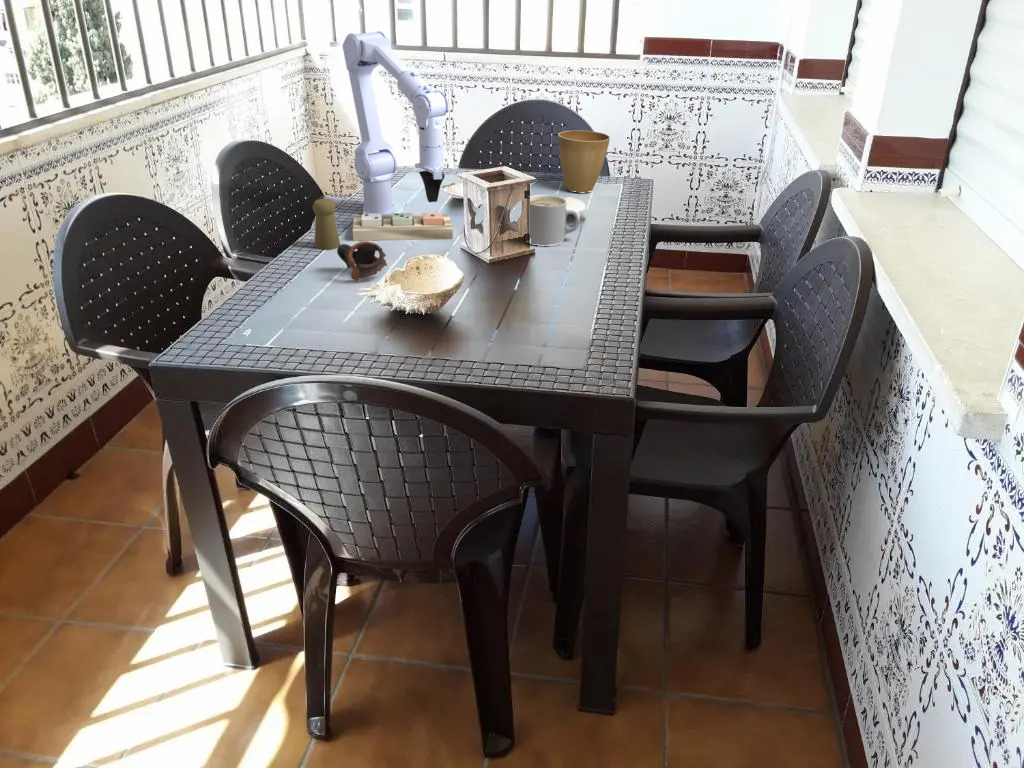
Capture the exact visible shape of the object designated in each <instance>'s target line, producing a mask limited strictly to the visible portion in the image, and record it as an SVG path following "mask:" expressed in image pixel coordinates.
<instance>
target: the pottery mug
mask: <svg viewBox="0 0 1024 768" xmlns="http://www.w3.org/2000/svg"><path fill="white" fill-rule="evenodd" d="M336 249H337V250H336V252H337V255H338V257H339V258H340V259H341V261H343V263H345V265H346V268H347V269H351V274H350V277H351V279H352V280H354V281H356V282H358V281H359V280H360V279H363V278H367V277H371V276H373V275H377V274H378V272H381V271H382V270H383V268H384V267H387V266H388V263H387V261H386V259H385V257H386V256H387V254H386V253H385V252H384V251H383V248H382V247H380V245H378V244H377V243H374V242H371V241H359V242H358V241H357V242H356V243H354V244H353V245H350V244H346V243H342V244H341V243H340V246H339V247H338V248H336ZM376 252H378V255H379V256H378V257H377V256H375V254H376Z"/></svg>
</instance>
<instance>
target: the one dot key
mask: <svg viewBox="0 0 1024 768" xmlns="http://www.w3.org/2000/svg"><path fill="white" fill-rule="evenodd" d="M422 214H423V225H443V217H442V214H443V212H422Z"/></svg>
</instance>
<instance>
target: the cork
mask: <svg viewBox="0 0 1024 768" xmlns="http://www.w3.org/2000/svg"><path fill="white" fill-rule="evenodd" d="M336 207H337V206H336V203H335V202H334V201H333V200H331V199H329V198H320V199H315V200H314V201H313V204H312V211H313V213H314V214H315V228H314V248H315V249H316V250H320V249H321V250H320V251H322V250H323V251H330V250H331V251H332V250H336V249H338V247H339V246H340V245H341V242H340V238H339V232H338V227H337V222H336V219H335V218H336V217H335V212H336Z"/></svg>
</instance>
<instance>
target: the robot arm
mask: <svg viewBox="0 0 1024 768" xmlns="http://www.w3.org/2000/svg"><path fill="white" fill-rule="evenodd" d="M341 47H342V50H343V56H344V61H345V66H346V70H347V71H348V76H349V81H350V86H351V92H352V96H353V97H352V98H353V102H354V106H355V107H354V108H355V113H356V118H357V123H358V129H359V132H360V133H359V134H360V139H361V143H360V144H359V145H358V146H357V147H356V148H355V149H354V155H355V156H354V158H355V159H354V168H355V172H356V173H357V175H358V177H359V179H360V180H362V186H363V187H362V188H363V189H362V190H363V203H364V204H363V208H362V209H363V210H362V214H381V215H392V214H393V213H395V212H394V210H395V209H394V203H393V202H392V201H393V199H392V181H391V179H392V178H394V174H395V173H396V172H397V171H396V170H397V169H398V161H397V158H396V155H395V154H394V151H393V147H392V145H391V143H390V142H388V141H387V140H385V139H384V137H383V134H382V128H381V123H380V118H379V117H380V116H379V112H378V106H377V101H376V96H375V92H374V91H375V90H374V85H373V80H372V73H373V71H374V69H375V68H377V67H379V65H381V66H382V67H383V68H384V70H386V71H387V72H388V73H389V74H390V75H391V76H392V77H393V78H394V79H395V80H396V81H397V84H396V85H397V89H398V90H399V91H400V92H401V93H402V94H403V96H405V98H406V99H407V100H408V101H409V102H410V103H411V104H412V105H411V106H412V111H413V114H414V116H415V119H416V120H415V121H416V125H417V127H418V145H419V150H418V151H419V162H418V163H414V167H415V168H416V169H421V171H419V172H418V174H419V175H420V178H421V180H422V183H423V186H424V190H425V195H426V199H427V201H428V203H437V202H438V199H439V195H440V189H441V185H442V183H443V181H444V179H445V176H446V175H445V173H444V171H443V170H444V168H445V163H444V116H445V115H446V114H447V112H448V110H449V103H448V99H447V97H446V95H445V94H444V92H443V91H441V90H435V89H433V88H432V87H431V86H430V85H429V84H428V83H427V82H426V81H425V80H424V79H423V78H422V77H421V76H420V72H419V71H418V70H414V69H408V68H407V66H406V65H405V64H404V63H403V62H402V61H401V59H400V58H399V57H398V55H397V54H396V52H395V51H394V50H393V49H392V43H391V39H389V37H388V36H387V35H386V34H385V32H383V31H380V30H379V31H376V32H363V33H351V32H350V33H348V34H347V35H346V37H345V38H344V41H343V43H342V45H341ZM377 151H378V152H377Z"/></svg>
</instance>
